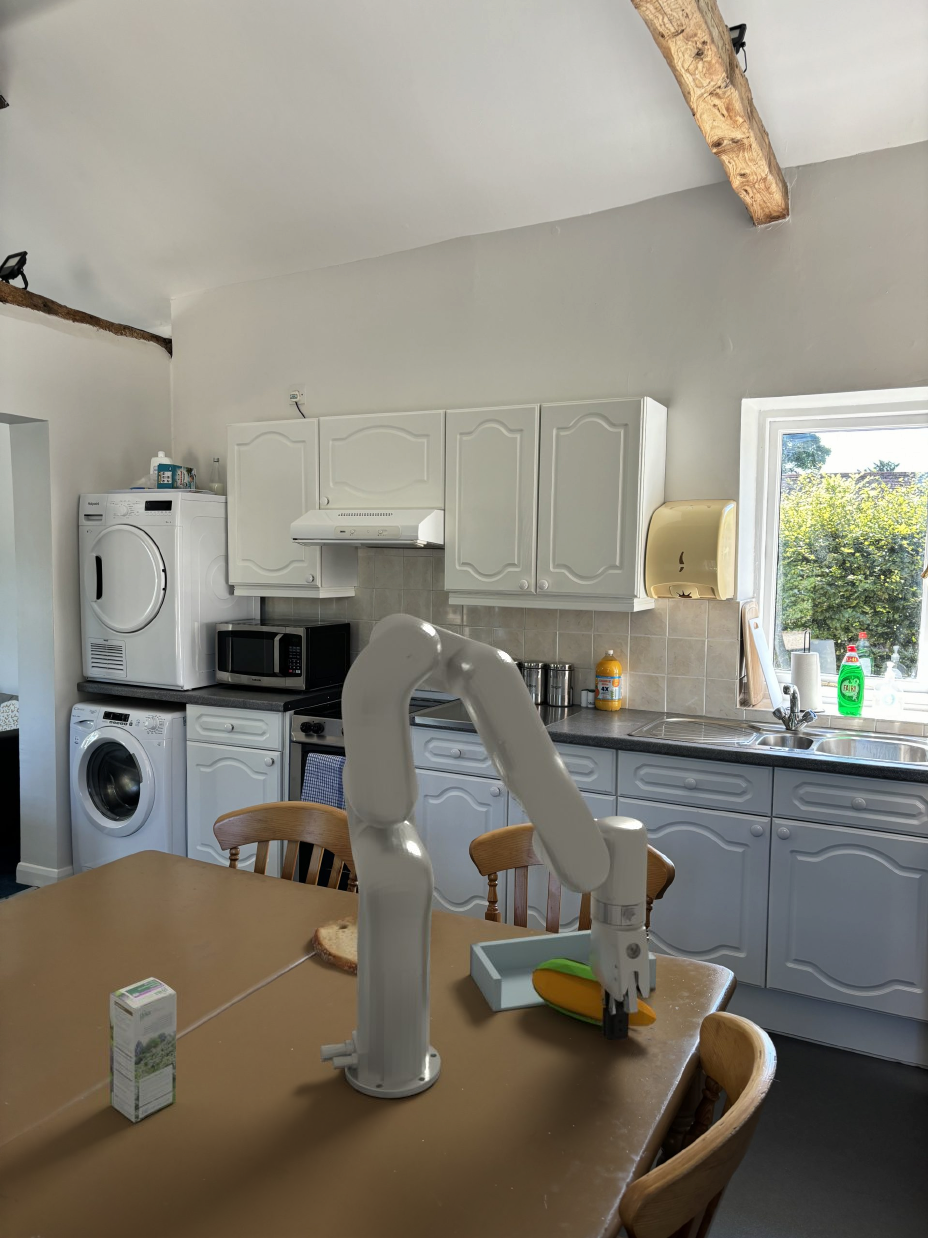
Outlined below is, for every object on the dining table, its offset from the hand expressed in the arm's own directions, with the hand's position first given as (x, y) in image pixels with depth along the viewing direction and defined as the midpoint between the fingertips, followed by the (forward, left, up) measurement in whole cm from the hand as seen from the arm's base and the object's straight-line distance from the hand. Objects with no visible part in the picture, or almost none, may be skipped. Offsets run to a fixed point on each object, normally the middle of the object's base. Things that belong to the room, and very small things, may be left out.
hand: (615, 1036), depth 120 cm
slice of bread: (-30, +39, -2) cm, 48 cm away
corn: (0, +7, -1) cm, 8 cm away
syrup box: (-62, +3, -2) cm, 62 cm away
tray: (0, +19, -1) cm, 19 cm away
